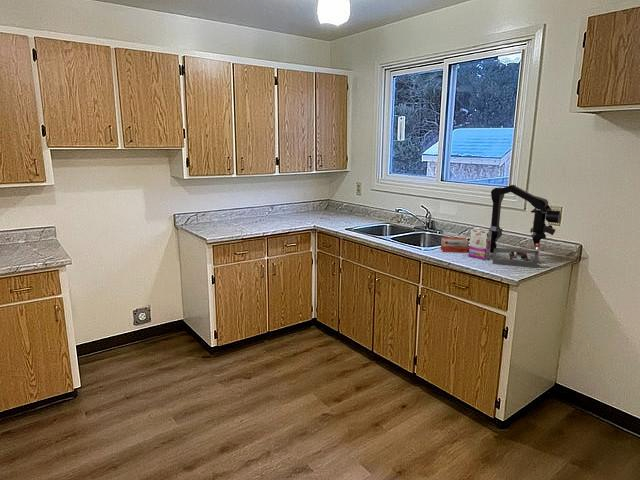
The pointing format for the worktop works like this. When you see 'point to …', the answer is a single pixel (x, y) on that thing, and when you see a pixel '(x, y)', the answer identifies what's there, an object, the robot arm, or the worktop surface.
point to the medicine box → (454, 245)
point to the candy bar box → (480, 244)
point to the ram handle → (536, 250)
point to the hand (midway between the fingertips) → (536, 247)
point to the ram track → (532, 259)
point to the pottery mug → (523, 255)
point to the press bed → (515, 262)
